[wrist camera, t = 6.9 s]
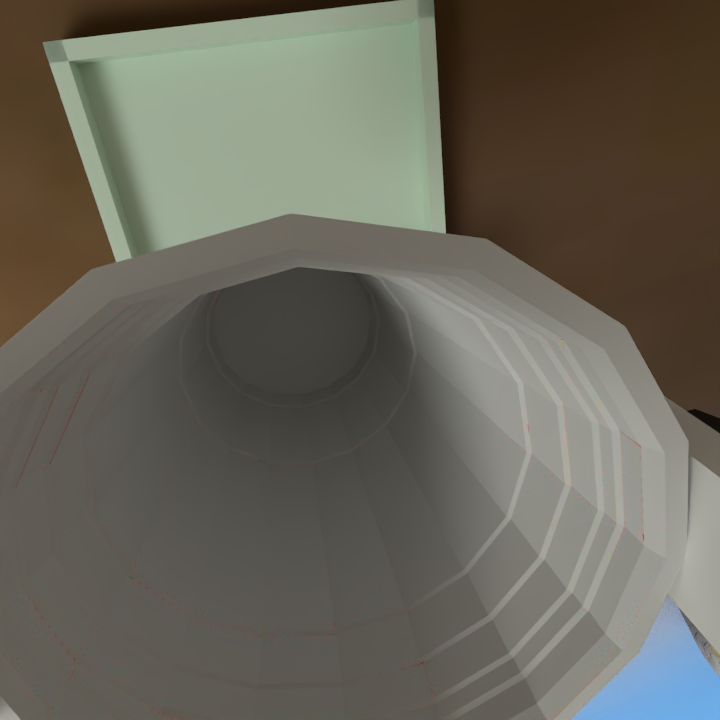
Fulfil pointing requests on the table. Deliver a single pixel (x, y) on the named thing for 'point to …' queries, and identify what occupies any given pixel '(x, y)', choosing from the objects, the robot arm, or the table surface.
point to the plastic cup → (329, 485)
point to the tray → (258, 122)
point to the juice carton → (704, 646)
